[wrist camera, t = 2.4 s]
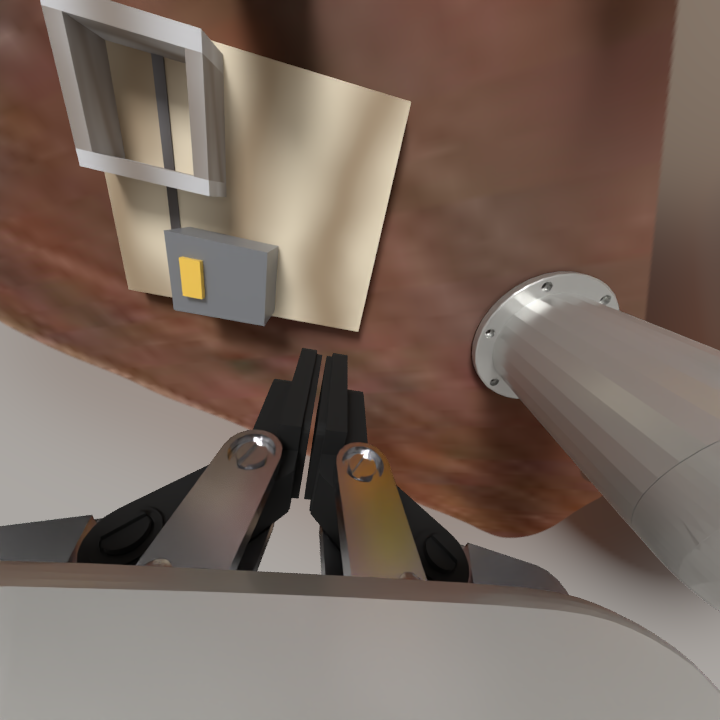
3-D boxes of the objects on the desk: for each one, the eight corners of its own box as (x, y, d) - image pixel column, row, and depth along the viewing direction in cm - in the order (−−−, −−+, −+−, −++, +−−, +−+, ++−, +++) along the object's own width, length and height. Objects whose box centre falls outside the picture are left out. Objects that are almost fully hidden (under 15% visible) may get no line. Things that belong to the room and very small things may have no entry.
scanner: (278, 246, 19) (265, 253, 16) (274, 311, 22) (262, 328, 19) (189, 226, 19) (159, 231, 16) (195, 296, 21) (170, 311, 18)
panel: (406, 109, 17) (420, 86, 14) (357, 325, 24) (359, 345, 21) (93, 14, 15) (15, -43, 11) (141, 284, 22) (102, 299, 19)
